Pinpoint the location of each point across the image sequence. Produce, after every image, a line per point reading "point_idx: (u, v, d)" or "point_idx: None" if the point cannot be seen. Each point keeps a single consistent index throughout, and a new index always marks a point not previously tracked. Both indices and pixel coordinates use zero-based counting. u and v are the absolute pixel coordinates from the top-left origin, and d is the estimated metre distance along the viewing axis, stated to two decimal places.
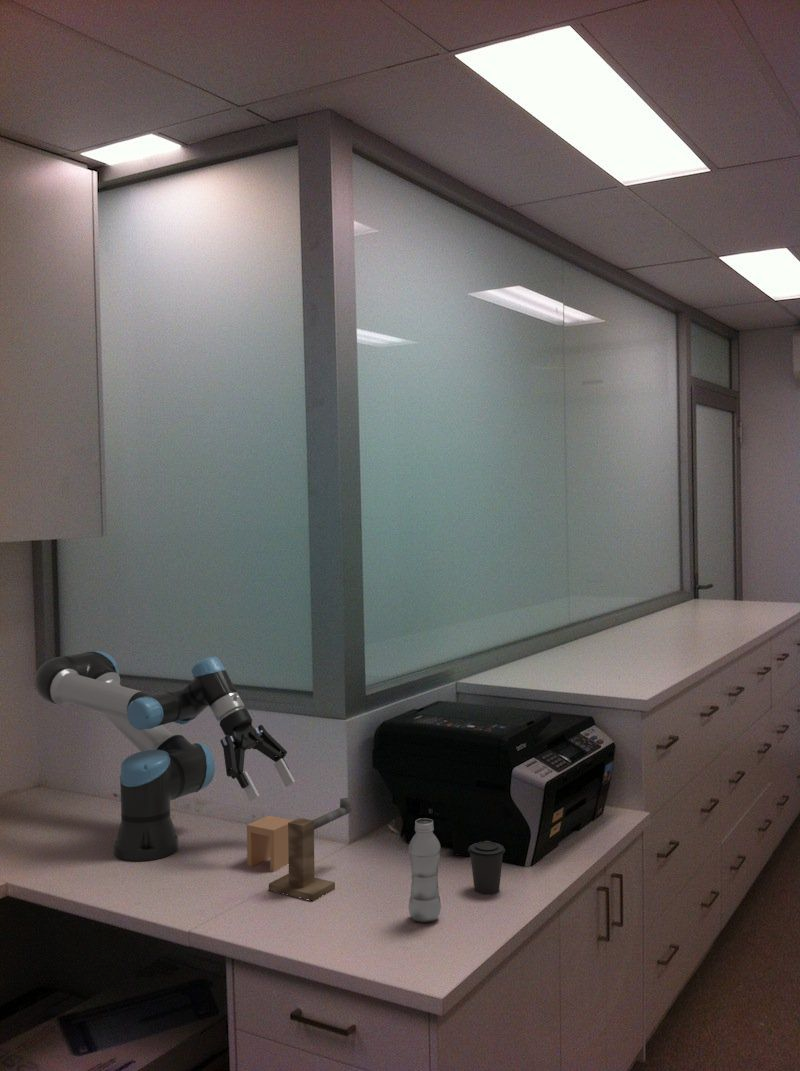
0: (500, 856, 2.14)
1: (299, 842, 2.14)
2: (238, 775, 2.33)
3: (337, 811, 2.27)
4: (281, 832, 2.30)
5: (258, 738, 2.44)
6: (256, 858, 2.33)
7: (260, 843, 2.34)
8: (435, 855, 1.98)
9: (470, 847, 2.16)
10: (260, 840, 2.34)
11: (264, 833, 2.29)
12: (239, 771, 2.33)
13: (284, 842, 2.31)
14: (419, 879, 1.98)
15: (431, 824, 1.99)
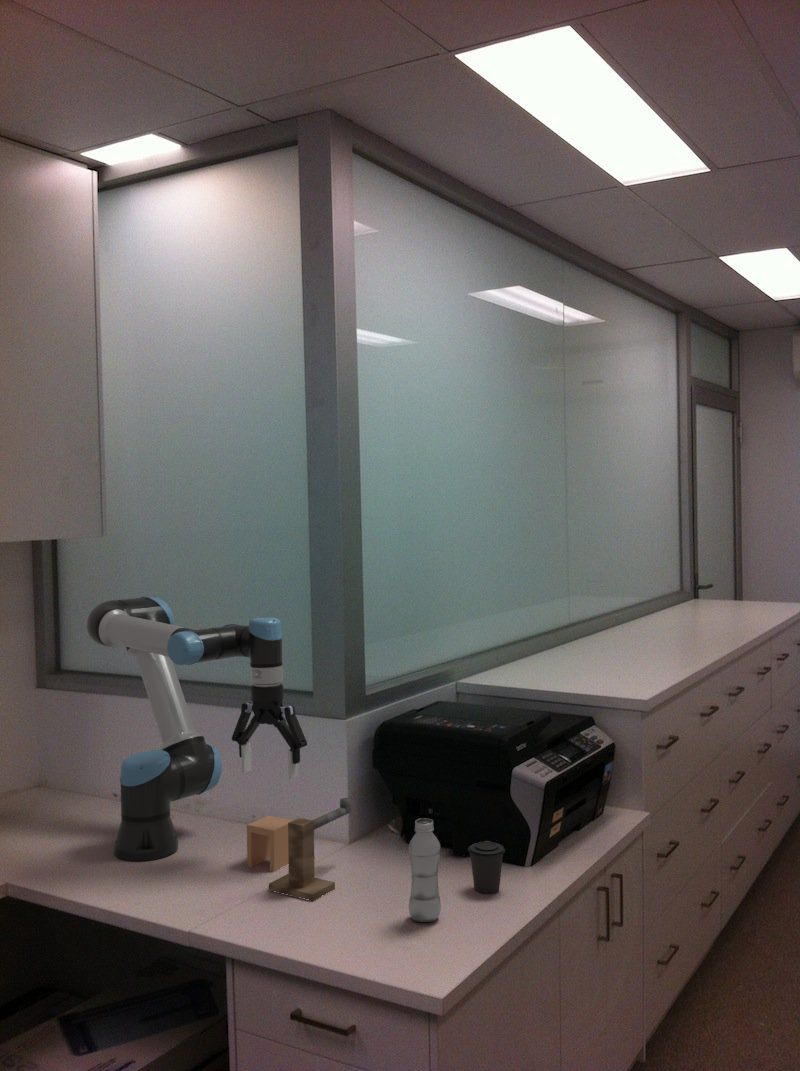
0: (500, 856, 2.14)
1: (299, 842, 2.14)
2: None
3: (337, 811, 2.27)
4: (281, 832, 2.30)
5: (272, 720, 2.30)
6: (256, 858, 2.33)
7: (260, 843, 2.34)
8: (435, 855, 1.98)
9: (470, 847, 2.16)
10: (260, 840, 2.34)
11: (264, 833, 2.29)
12: None
13: (284, 842, 2.31)
14: (419, 879, 1.98)
15: (431, 824, 1.99)
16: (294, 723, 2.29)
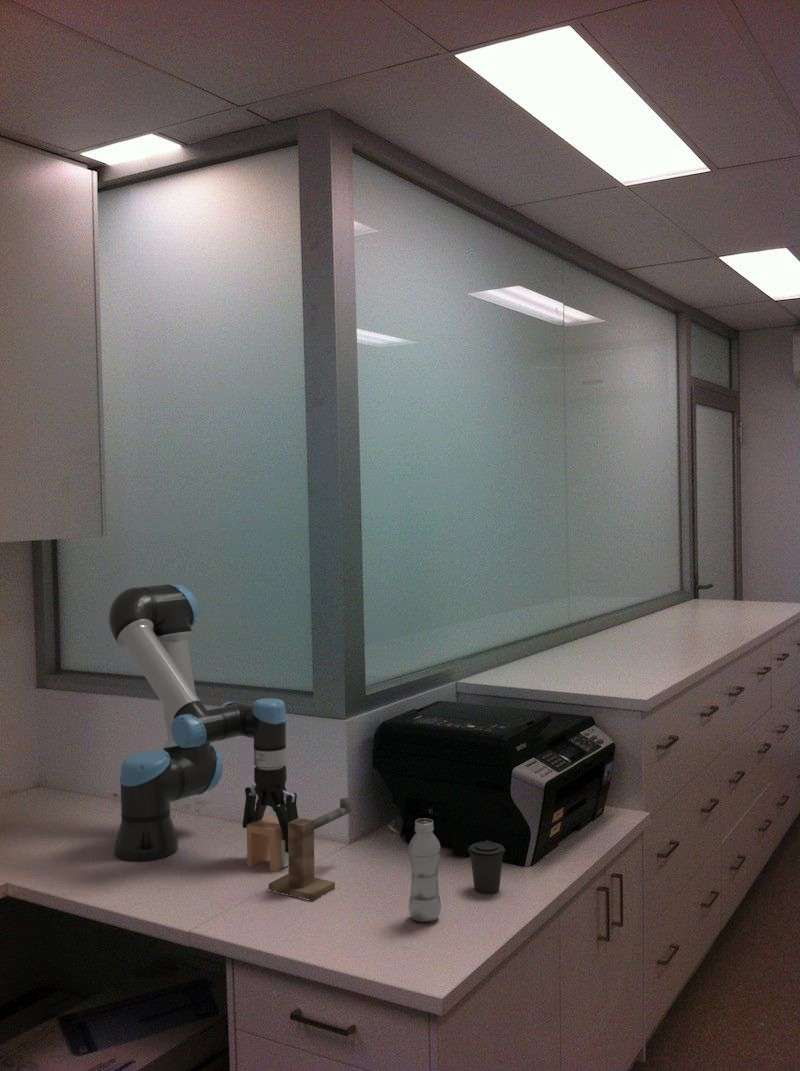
0: (500, 856, 2.14)
1: (299, 842, 2.14)
2: None
3: (337, 811, 2.27)
4: (281, 832, 2.30)
5: (272, 804, 2.31)
6: (256, 858, 2.33)
7: (260, 843, 2.34)
8: (435, 855, 1.98)
9: (470, 847, 2.16)
10: (260, 840, 2.34)
11: (264, 833, 2.29)
12: None
13: None
14: (419, 879, 1.98)
15: (431, 824, 1.99)
16: (293, 812, 2.29)
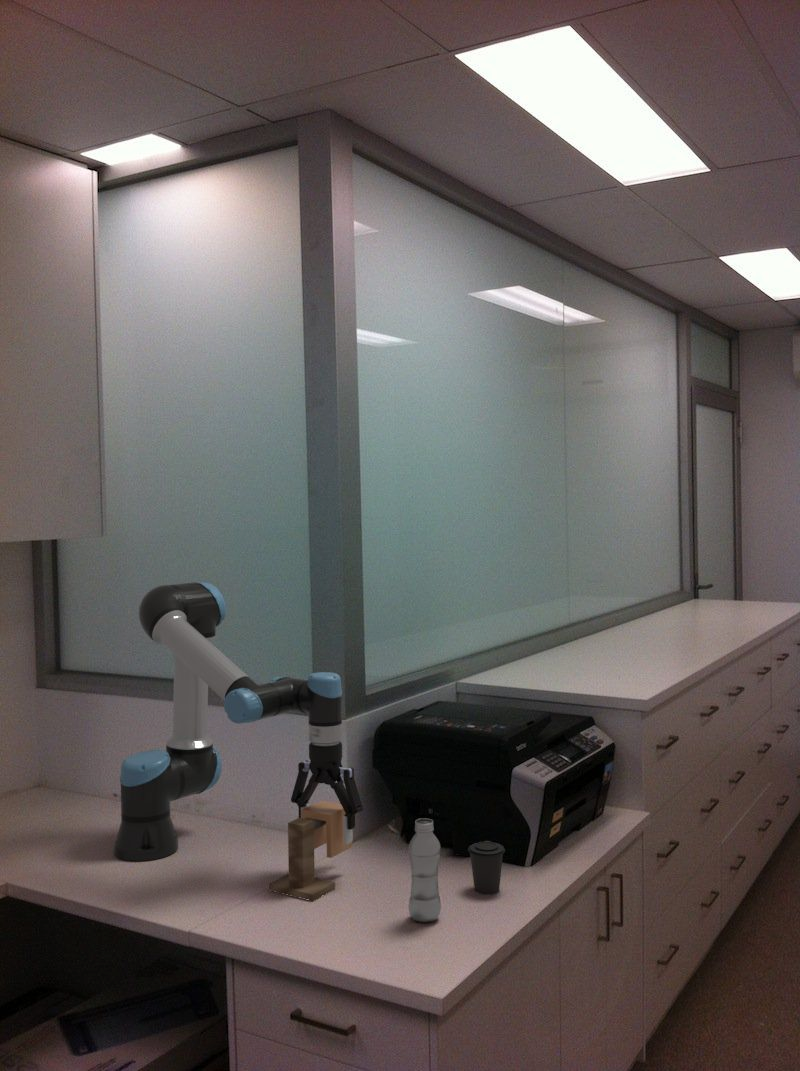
0: (500, 856, 2.14)
1: (299, 842, 2.14)
2: None
3: None
4: (337, 817, 2.22)
5: (329, 781, 2.22)
6: None
7: (315, 829, 2.26)
8: (435, 855, 1.98)
9: (470, 847, 2.16)
10: None
11: (320, 818, 2.21)
12: None
13: (340, 828, 2.22)
14: (419, 879, 1.98)
15: (431, 824, 1.99)
16: (352, 787, 2.20)
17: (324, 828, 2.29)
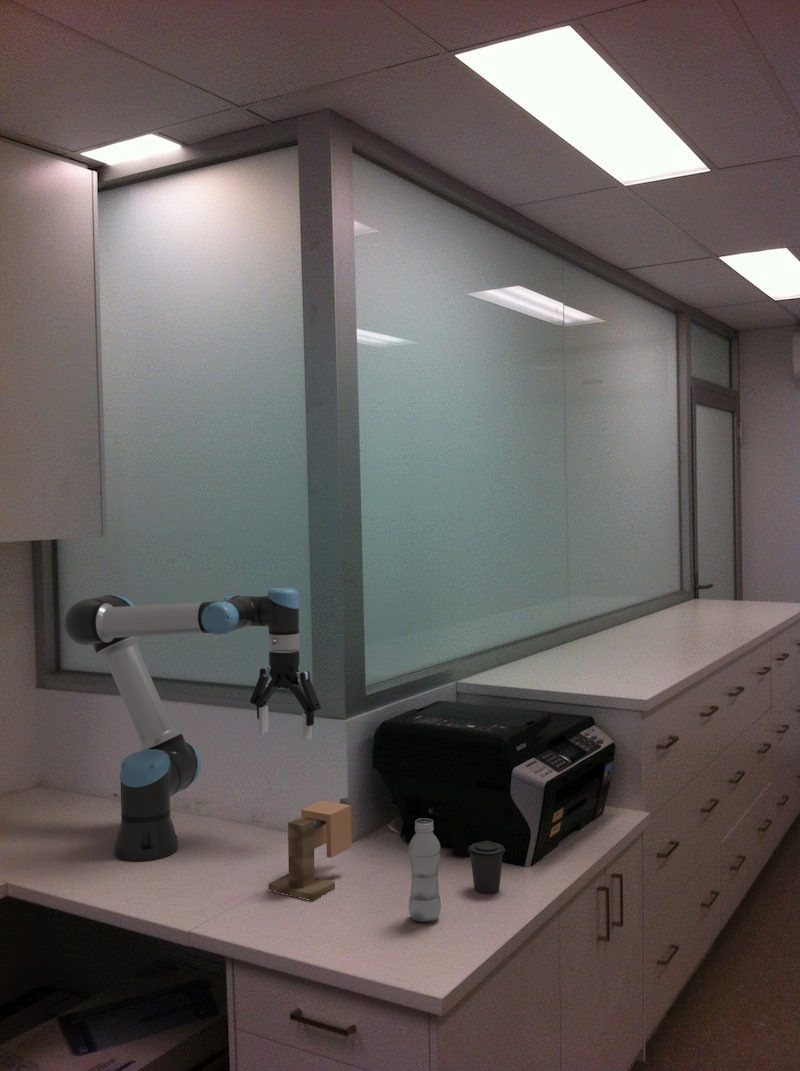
0: (500, 856, 2.14)
1: (299, 842, 2.14)
2: None
3: None
4: (337, 817, 2.22)
5: (288, 685, 2.44)
6: None
7: None
8: (435, 855, 1.98)
9: (470, 847, 2.16)
10: None
11: (320, 818, 2.21)
12: None
13: (340, 828, 2.23)
14: (419, 879, 1.98)
15: (431, 824, 1.99)
16: (309, 688, 2.43)
17: (324, 828, 2.29)
